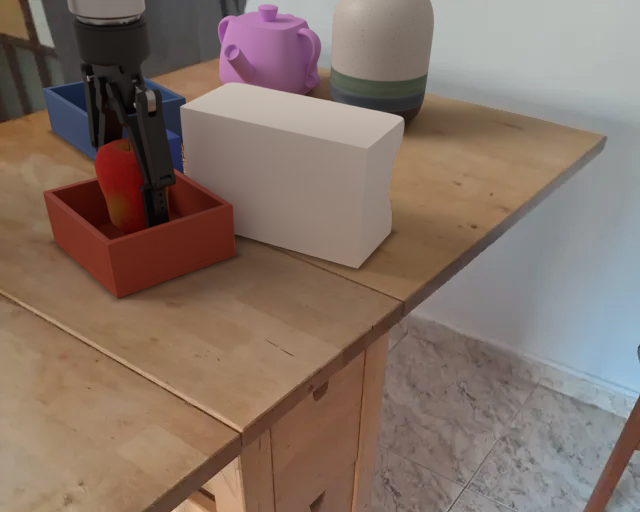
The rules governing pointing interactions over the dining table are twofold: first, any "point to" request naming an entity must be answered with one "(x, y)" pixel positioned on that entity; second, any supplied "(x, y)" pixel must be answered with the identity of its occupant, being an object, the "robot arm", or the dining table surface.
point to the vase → (381, 54)
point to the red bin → (141, 235)
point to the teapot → (269, 51)
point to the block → (175, 151)
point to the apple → (122, 185)
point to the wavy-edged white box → (295, 168)
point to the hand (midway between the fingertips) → (140, 222)
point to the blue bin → (73, 120)
